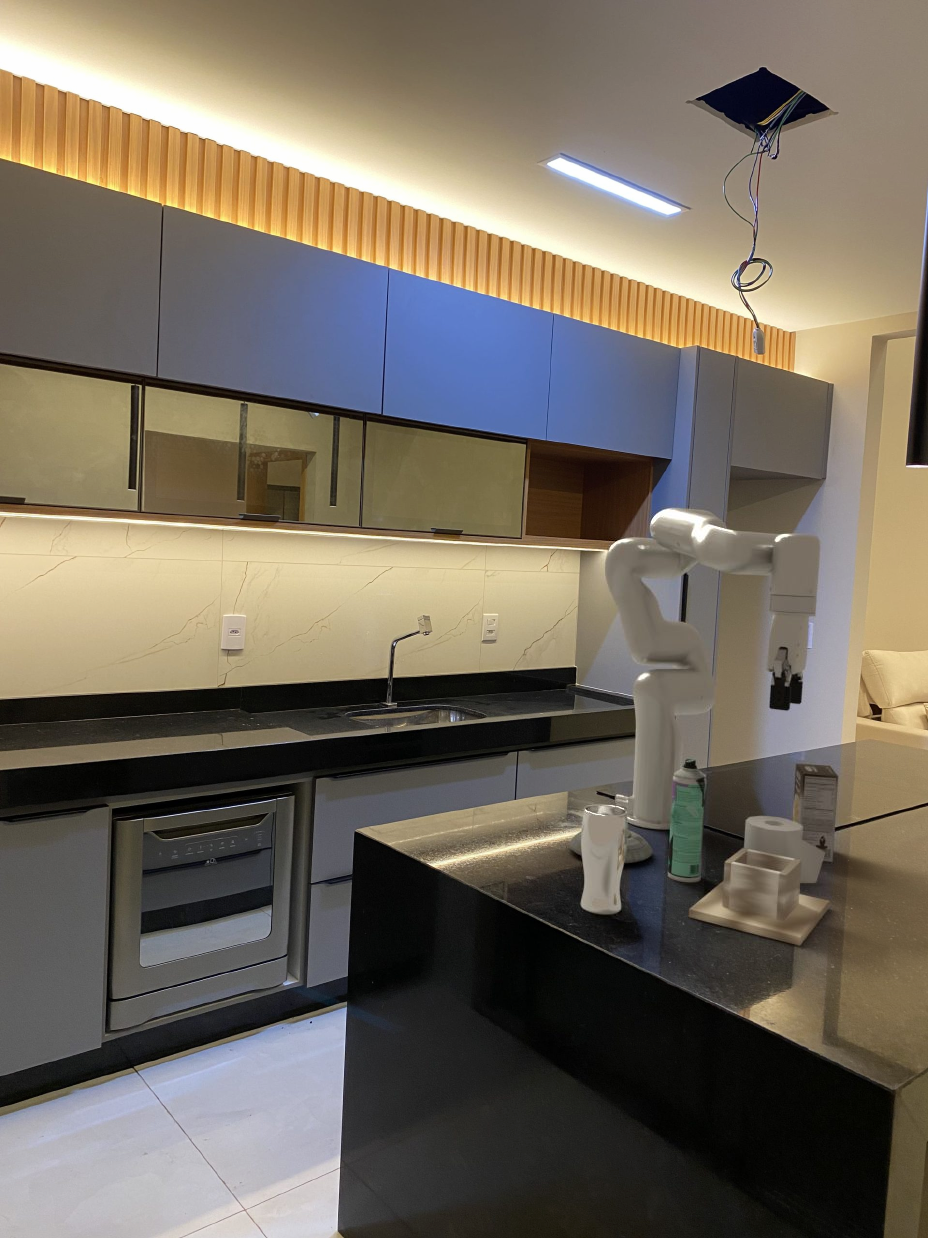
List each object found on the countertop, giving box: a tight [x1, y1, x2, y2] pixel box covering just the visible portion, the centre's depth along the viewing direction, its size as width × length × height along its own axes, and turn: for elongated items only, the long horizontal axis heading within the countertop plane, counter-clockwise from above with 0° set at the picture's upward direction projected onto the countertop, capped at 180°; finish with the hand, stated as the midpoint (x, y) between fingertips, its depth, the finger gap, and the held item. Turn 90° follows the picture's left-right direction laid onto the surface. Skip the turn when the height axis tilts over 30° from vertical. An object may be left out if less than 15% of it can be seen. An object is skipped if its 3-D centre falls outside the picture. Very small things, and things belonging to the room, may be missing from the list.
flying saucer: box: [568, 829, 654, 864], centre depth 163 cm, size 15×15×6 cm
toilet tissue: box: [743, 815, 825, 884], centre depth 156 cm, size 9×13×9 cm
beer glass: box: [580, 803, 629, 915], centre depth 136 cm, size 7×7×15 cm
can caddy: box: [688, 847, 830, 946], centre depth 137 cm, size 16×18×8 cm
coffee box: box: [792, 763, 839, 863], centre depth 168 cm, size 9×6×16 cm
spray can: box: [667, 758, 707, 883], centre depth 151 cm, size 6×6×20 cm
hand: (785, 706), depth 154 cm, fingers open, 9 cm apart
